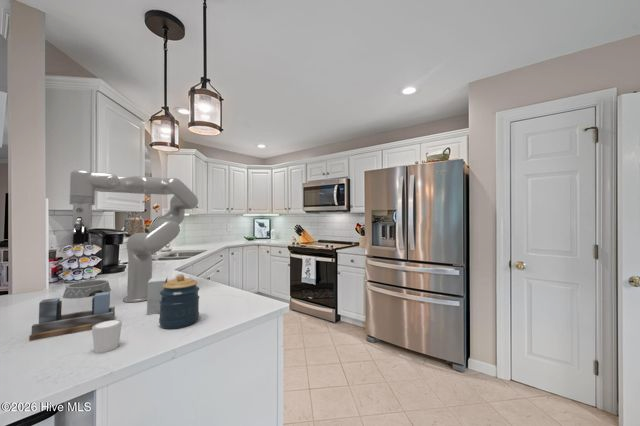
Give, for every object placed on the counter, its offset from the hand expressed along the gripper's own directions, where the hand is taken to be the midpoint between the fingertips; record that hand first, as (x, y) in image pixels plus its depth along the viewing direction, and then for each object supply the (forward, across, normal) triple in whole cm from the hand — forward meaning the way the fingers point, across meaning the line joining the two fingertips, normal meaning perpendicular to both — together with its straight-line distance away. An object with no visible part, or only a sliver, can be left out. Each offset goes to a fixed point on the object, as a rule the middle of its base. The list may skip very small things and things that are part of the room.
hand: (81, 243), depth 103 cm
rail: (+28, -17, -2) cm, 33 cm away
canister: (+29, -33, -32) cm, 54 cm away
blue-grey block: (+27, -17, -9) cm, 33 cm away
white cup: (+28, -42, -12) cm, 52 cm away
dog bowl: (+29, +36, +2) cm, 46 cm away
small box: (+28, -14, -26) cm, 41 cm away
